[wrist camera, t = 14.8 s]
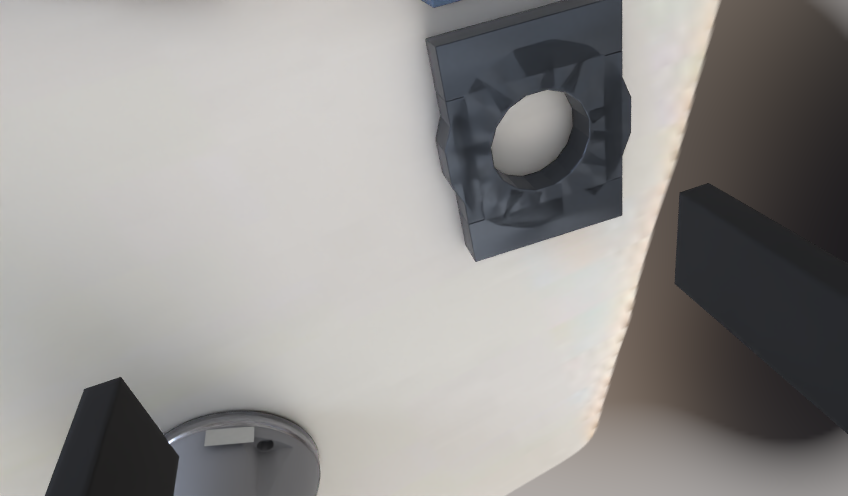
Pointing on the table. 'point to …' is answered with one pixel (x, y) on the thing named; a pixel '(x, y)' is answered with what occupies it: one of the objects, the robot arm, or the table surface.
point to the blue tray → (439, 2)
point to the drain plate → (506, 85)
